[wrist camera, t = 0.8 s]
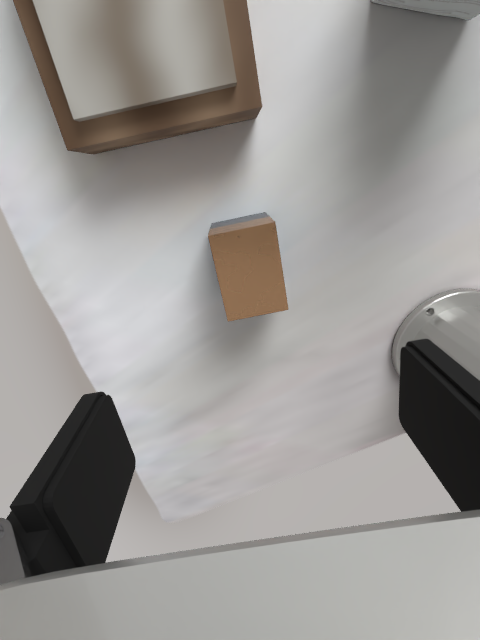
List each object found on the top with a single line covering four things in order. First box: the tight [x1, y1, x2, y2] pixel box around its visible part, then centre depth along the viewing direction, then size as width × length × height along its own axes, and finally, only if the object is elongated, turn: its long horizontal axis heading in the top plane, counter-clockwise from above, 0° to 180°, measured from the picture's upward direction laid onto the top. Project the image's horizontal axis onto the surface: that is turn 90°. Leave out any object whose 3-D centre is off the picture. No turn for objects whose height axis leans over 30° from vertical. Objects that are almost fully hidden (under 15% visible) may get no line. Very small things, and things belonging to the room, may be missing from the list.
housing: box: [208, 212, 288, 321], centre depth 29 cm, size 5×7×7 cm
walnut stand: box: [13, 0, 262, 154], centre depth 22 cm, size 14×14×6 cm
